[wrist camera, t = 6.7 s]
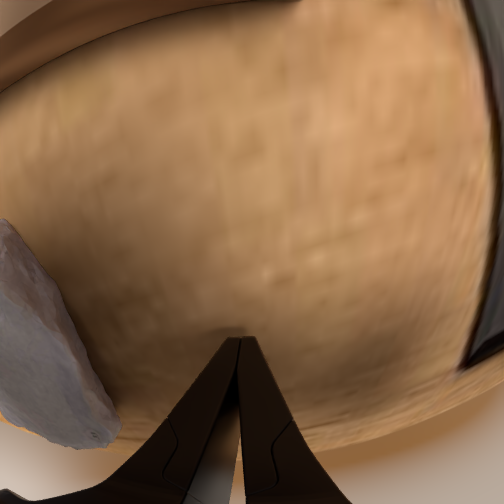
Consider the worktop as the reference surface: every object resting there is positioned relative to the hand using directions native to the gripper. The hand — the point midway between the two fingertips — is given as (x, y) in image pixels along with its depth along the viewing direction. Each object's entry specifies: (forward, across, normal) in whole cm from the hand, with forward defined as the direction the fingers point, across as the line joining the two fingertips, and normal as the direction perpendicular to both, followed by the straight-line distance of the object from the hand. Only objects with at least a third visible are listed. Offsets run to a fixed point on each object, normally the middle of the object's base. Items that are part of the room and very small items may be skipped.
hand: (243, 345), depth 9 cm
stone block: (+1, +11, +1) cm, 11 cm away
